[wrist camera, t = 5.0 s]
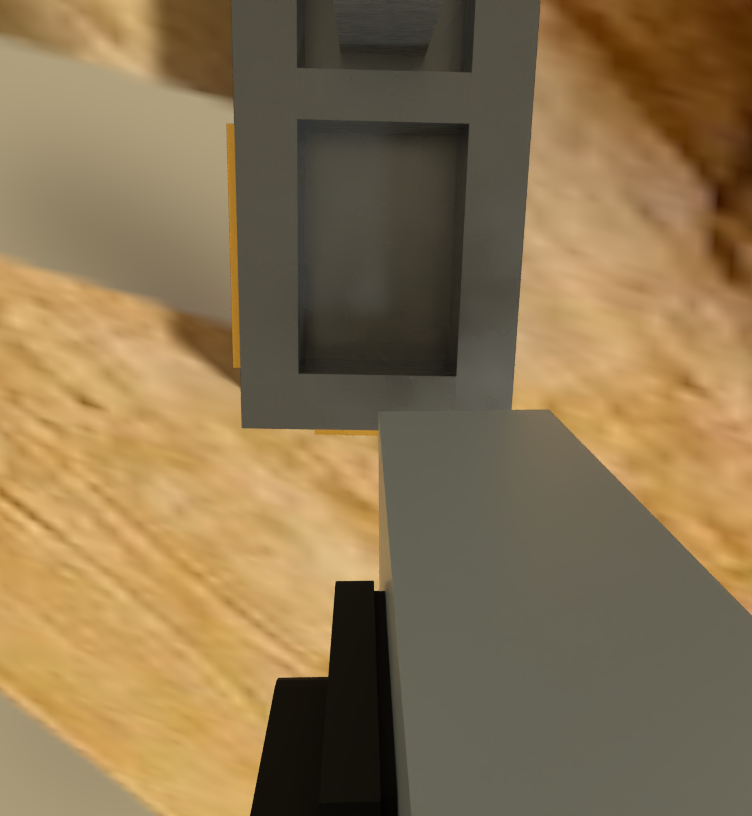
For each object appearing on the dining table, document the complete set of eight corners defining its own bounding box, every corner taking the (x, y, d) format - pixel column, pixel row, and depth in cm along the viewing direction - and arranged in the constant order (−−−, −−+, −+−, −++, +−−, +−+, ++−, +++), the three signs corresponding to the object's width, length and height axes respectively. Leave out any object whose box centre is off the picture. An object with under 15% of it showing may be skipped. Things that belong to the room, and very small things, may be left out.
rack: (530, -232, 24) (668, -618, 13) (489, 412, 29) (562, 518, 18) (237, -243, 23) (129, -643, 13) (251, 408, 29) (183, 512, 18)
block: (549, 409, 12) (1224, 1093, 3) (531, 702, 14) (919, 1803, 4) (378, 411, 12) (434, 1114, 3) (380, 705, 14) (419, 1823, 4)
